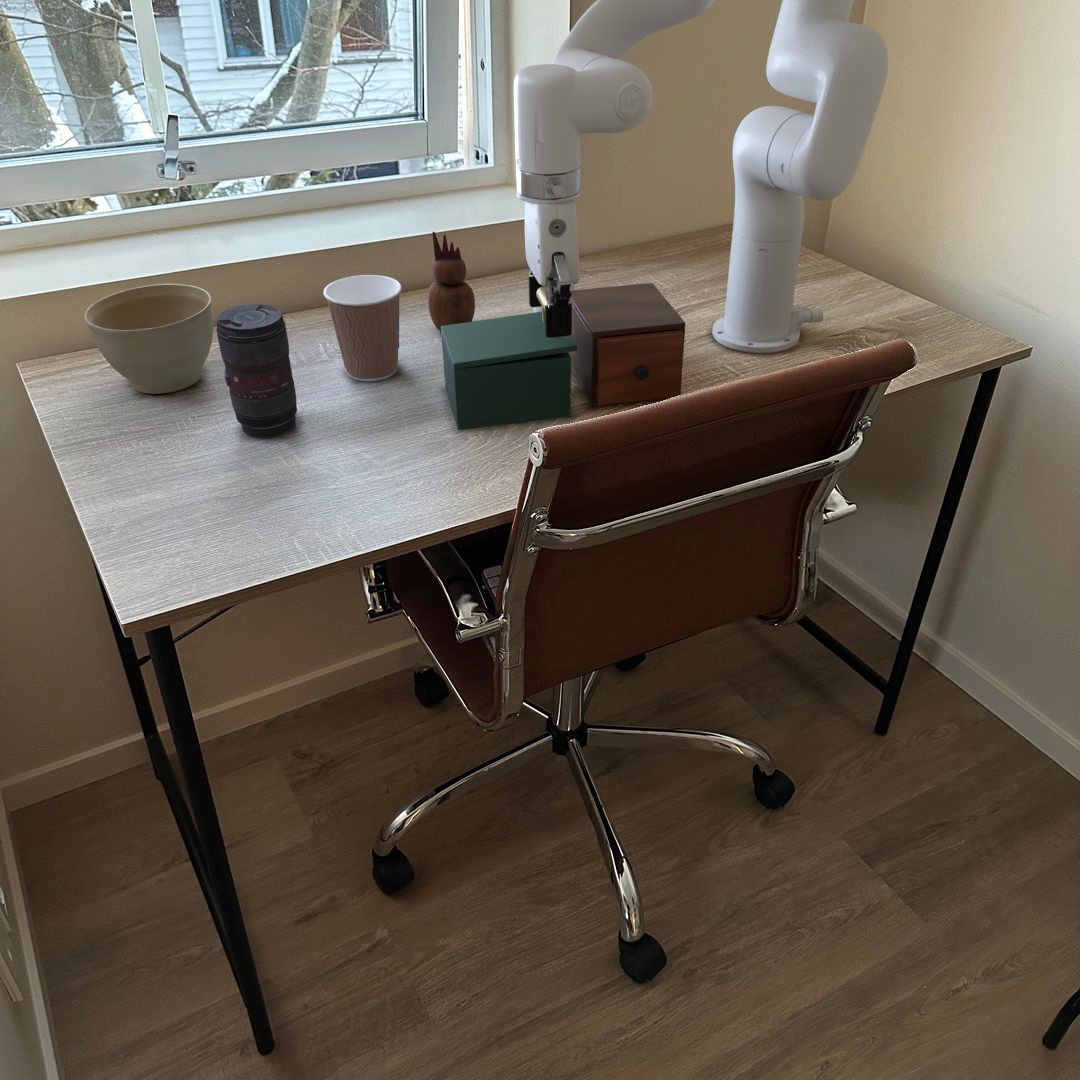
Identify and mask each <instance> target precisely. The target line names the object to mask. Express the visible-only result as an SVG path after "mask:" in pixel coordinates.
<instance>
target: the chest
mask: <svg viewBox="0 0 1080 1080" xmlns="http://www.w3.org/2000/svg"><path fill="white" fill-rule="evenodd" d="M440 334H441V347H442V361H443V374H444V387H445V392H446V396H447V399H448V402H449V406H450V409H451V411H452V415H453V418H454V422H455V425H456V429H457V431H463V430H472V429H481V428H488V427H489V428H490V427H498V426H505V425H513V424H514V425H515V424H523V423H531V422H540V421H541V422H542V421H549V420H557V419H558V420H559V419H566V418H571V417H572V372H571V357H570V355H569V353H568V352H566V353H559V354H552V355H546V356H539V357H533V358H526V359H520V360H513V361H507V362H500V363H493V364H487V365H480V366H474V367H467V368H461V369H454V368H453V365H452V362H451V359H450V356H449V353H448V350H447V347H446V344H445V341H444V338H443V335H442V332H440Z"/></svg>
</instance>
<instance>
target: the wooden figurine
mask: <svg viewBox="0 0 1080 1080" xmlns="http://www.w3.org/2000/svg"><path fill="white" fill-rule="evenodd" d="M432 242H433V252H434V260H433V262H432V276H433V279H434V280H435V281H434V282H432V283H431V284H430V286H429V288H428V294H427V305H428V312H429V316H430V319H431V321H432V323H433V325H434V327H435V328H436V329H437V331H439V332H440V333H441V326H446V325H453V324H460V323H466V322H473V319H474V316H475V311H476V298H475V293H474V290H473V288H472V287H471V286H470V285H469V284H468V283H467V282H466V281H465V279H466V276H467V266H466V263H465V261H464V260H463V259H462V255H461V251H460V247H459V246H456V248H455V246H454V242H453V241H450V246H449V245H448V240H447V235H446V234H443V238H442V247H441V245H440V243H439V240H438V237H437V234H436V231H432Z"/></svg>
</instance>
